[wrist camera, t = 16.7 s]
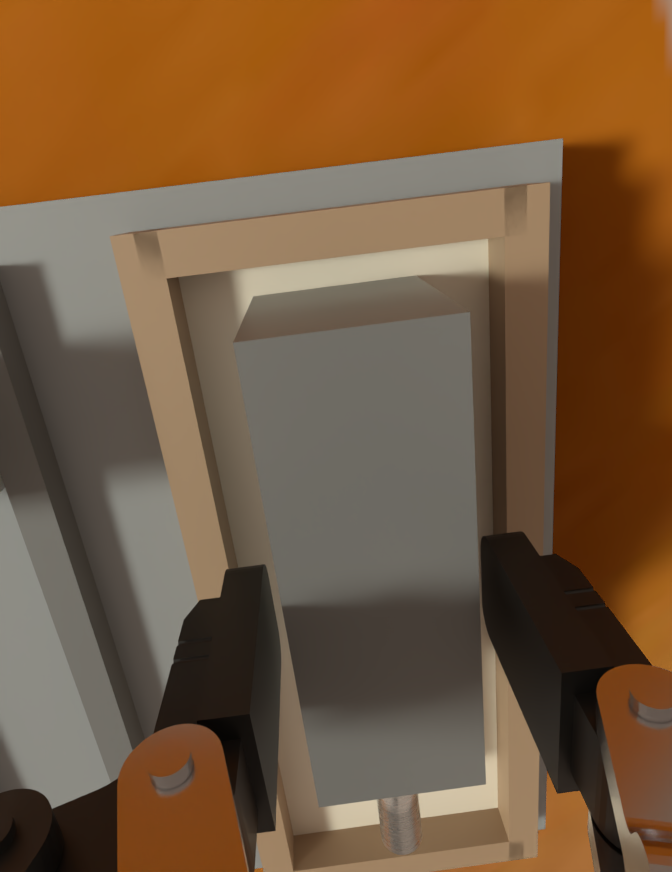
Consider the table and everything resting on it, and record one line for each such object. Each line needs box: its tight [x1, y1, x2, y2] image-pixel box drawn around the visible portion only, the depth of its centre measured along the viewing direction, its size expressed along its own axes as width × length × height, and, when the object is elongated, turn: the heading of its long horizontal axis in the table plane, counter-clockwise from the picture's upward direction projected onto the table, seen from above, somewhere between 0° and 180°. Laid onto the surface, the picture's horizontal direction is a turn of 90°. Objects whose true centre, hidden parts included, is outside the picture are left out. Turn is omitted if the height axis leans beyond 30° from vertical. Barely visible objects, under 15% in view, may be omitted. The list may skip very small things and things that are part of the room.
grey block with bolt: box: [233, 275, 486, 855], centre depth 12 cm, size 13×3×4 cm, turn 7°
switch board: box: [0, 139, 563, 872], centre depth 15 cm, size 19×17×3 cm
